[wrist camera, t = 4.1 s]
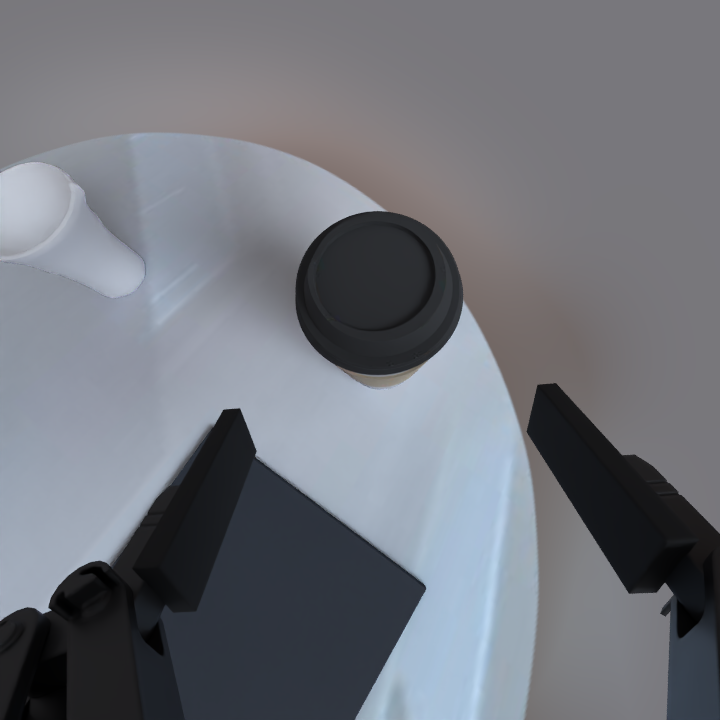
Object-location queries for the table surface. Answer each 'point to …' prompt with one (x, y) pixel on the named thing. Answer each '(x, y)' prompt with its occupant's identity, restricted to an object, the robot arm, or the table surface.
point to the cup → (62, 231)
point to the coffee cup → (378, 296)
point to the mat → (287, 613)
